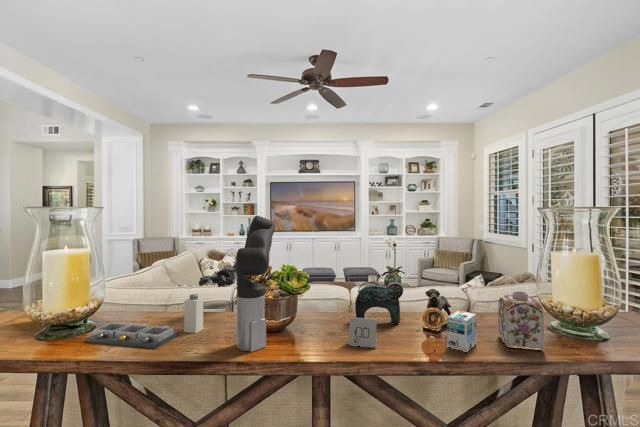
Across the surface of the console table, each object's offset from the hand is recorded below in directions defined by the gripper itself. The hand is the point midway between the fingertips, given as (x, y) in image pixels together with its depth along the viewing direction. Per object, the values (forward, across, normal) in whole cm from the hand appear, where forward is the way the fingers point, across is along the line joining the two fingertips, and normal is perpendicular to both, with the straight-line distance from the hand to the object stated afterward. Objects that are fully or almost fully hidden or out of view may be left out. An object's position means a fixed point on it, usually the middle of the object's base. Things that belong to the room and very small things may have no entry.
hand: (209, 284), depth 145 cm
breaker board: (+25, -15, +15) cm, 33 cm away
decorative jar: (-1, +118, +15) cm, 119 cm away
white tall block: (+12, 0, +15) cm, 19 cm away
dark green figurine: (-14, +69, +16) cm, 72 cm away
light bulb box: (+6, +98, +15) cm, 99 cm away
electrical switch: (+12, +65, +15) cm, 67 cm away
